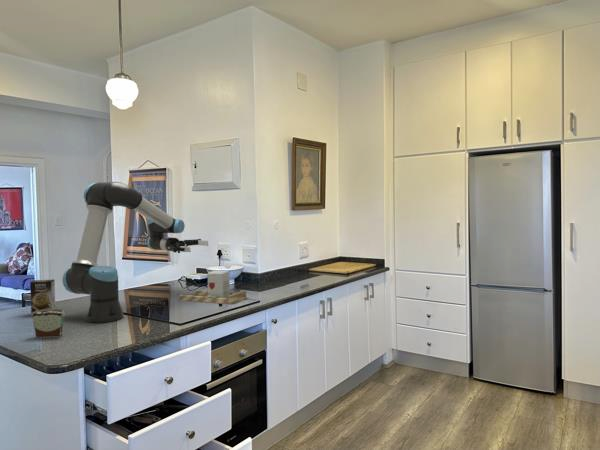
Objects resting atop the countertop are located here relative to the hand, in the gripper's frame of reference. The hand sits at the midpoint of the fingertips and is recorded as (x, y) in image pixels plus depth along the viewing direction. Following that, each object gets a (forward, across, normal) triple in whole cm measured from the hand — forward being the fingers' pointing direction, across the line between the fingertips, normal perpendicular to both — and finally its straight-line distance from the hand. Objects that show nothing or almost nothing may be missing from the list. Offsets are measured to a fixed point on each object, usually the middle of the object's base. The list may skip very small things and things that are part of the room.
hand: (199, 246), depth 234 cm
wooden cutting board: (+5, -2, -29) cm, 30 cm away
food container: (-7, +79, -17) cm, 81 cm away
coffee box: (-46, +61, -21) cm, 79 cm away
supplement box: (+10, 0, -29) cm, 31 cm away
